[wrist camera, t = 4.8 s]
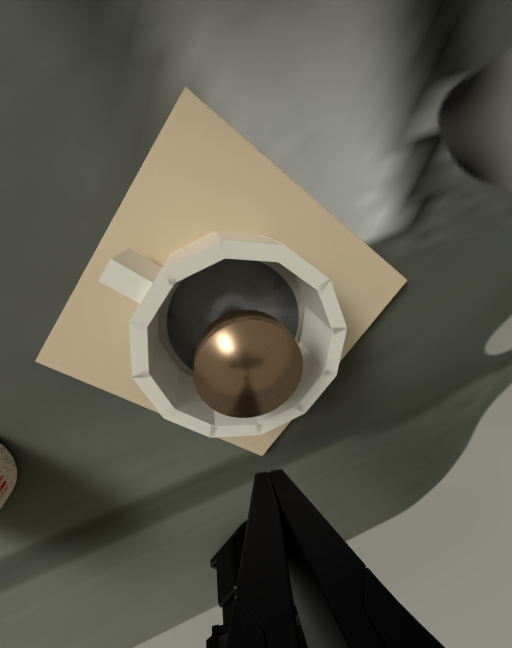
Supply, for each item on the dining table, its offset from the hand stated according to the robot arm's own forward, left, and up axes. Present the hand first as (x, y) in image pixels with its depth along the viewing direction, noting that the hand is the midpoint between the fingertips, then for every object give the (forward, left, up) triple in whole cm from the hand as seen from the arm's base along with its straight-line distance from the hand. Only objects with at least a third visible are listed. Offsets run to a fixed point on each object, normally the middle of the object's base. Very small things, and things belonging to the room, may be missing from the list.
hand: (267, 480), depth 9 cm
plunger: (0, -1, -11) cm, 11 cm away
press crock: (0, -1, -13) cm, 13 cm away
